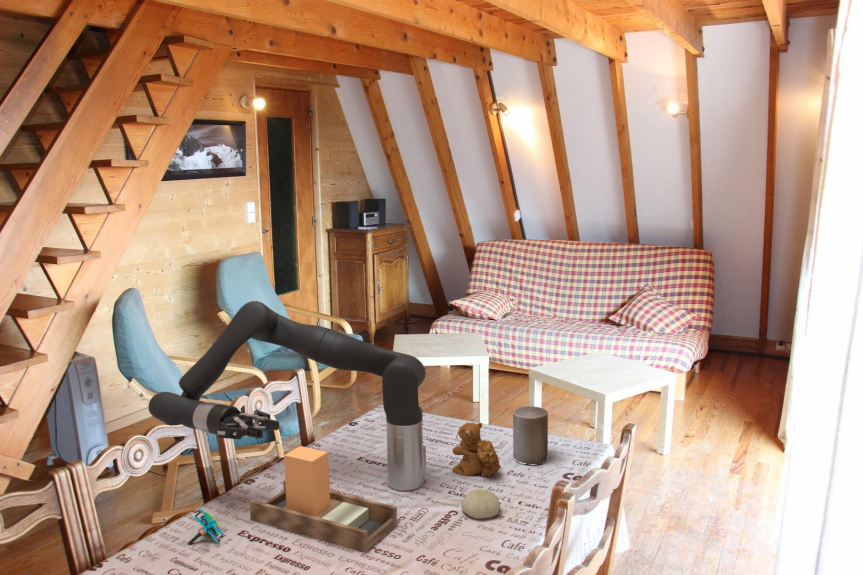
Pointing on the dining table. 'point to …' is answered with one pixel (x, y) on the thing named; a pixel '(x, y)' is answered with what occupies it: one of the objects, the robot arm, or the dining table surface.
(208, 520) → the stick construction toy
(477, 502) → the sea urchin shell
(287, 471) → the orange block
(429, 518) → the dining table surface
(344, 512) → the open wooden box
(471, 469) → the stuffed squirrel
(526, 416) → the pillar candle
